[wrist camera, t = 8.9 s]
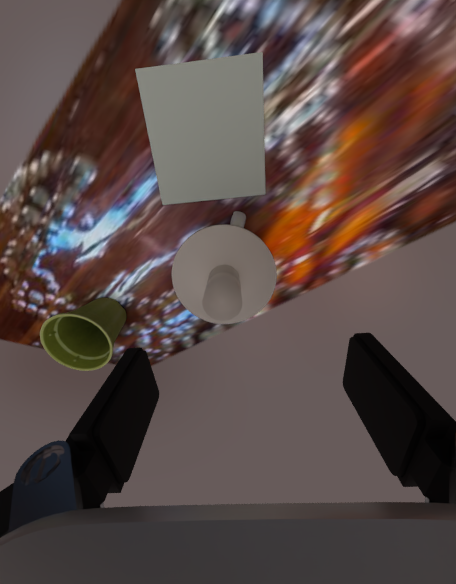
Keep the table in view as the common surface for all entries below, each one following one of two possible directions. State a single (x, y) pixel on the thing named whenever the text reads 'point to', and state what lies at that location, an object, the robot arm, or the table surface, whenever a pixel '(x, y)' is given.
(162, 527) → the robot arm
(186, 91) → the mat
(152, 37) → the table surface
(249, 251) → the lid
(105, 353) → the plant pot
